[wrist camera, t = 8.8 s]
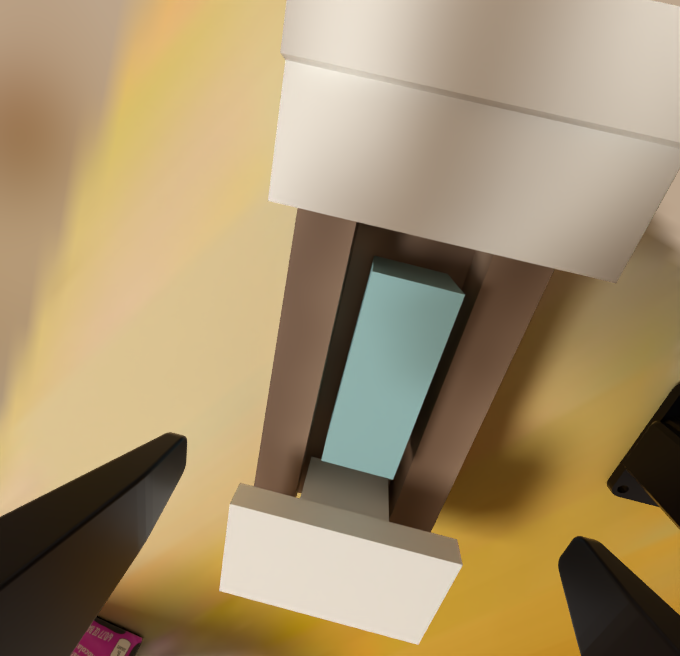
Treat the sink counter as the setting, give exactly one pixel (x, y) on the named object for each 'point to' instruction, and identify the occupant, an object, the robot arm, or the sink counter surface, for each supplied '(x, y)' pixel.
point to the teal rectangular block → (390, 364)
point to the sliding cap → (337, 554)
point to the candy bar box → (107, 641)
